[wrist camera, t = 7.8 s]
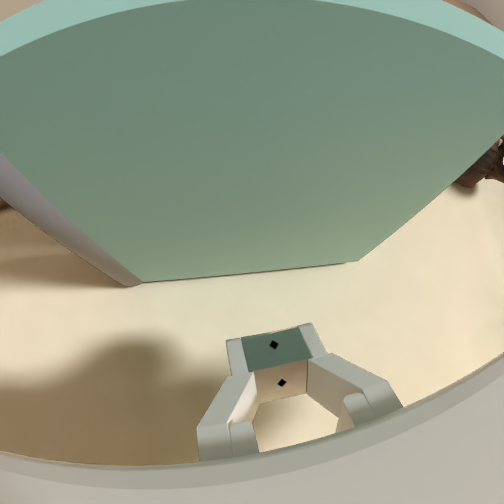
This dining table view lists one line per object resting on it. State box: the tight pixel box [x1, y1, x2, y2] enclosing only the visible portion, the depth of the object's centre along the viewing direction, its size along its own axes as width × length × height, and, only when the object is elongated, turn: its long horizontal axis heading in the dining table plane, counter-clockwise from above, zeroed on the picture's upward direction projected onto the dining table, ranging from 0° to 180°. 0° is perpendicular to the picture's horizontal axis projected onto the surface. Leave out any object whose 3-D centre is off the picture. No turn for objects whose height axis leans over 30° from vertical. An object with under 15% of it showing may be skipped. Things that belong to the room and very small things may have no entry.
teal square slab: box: [0, 0, 504, 287], centre depth 10 cm, size 14×2×14 cm, turn 97°
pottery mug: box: [455, 134, 504, 187], centre depth 19 cm, size 12×10×8 cm
